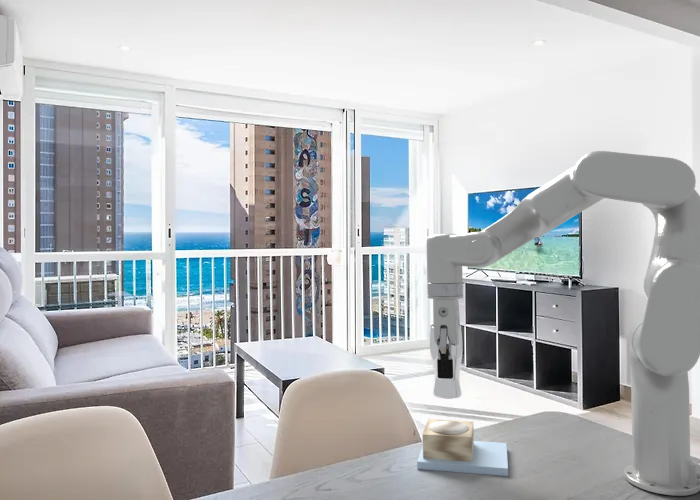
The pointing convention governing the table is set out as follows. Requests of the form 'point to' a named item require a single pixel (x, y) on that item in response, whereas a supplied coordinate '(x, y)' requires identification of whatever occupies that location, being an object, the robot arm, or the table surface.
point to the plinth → (448, 440)
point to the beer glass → (452, 386)
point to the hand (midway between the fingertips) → (446, 373)
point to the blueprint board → (473, 460)
